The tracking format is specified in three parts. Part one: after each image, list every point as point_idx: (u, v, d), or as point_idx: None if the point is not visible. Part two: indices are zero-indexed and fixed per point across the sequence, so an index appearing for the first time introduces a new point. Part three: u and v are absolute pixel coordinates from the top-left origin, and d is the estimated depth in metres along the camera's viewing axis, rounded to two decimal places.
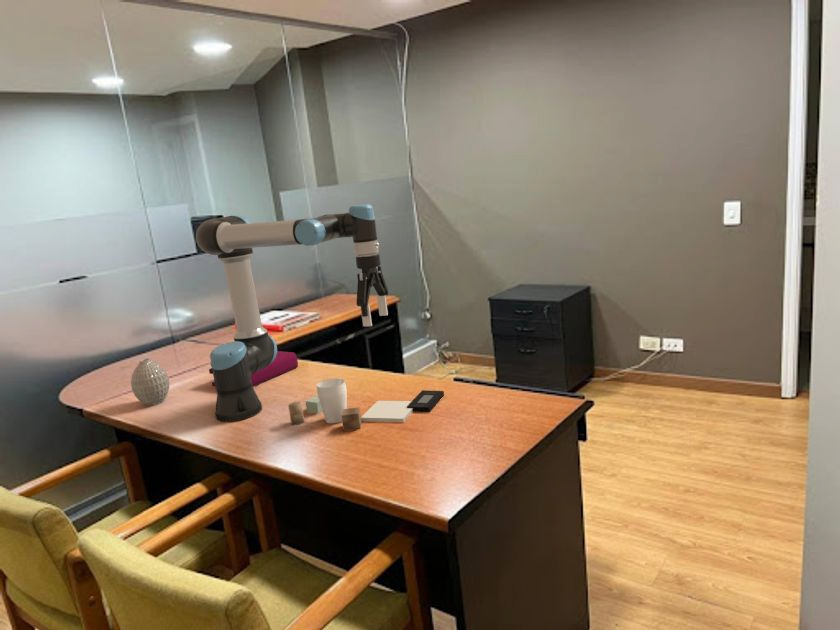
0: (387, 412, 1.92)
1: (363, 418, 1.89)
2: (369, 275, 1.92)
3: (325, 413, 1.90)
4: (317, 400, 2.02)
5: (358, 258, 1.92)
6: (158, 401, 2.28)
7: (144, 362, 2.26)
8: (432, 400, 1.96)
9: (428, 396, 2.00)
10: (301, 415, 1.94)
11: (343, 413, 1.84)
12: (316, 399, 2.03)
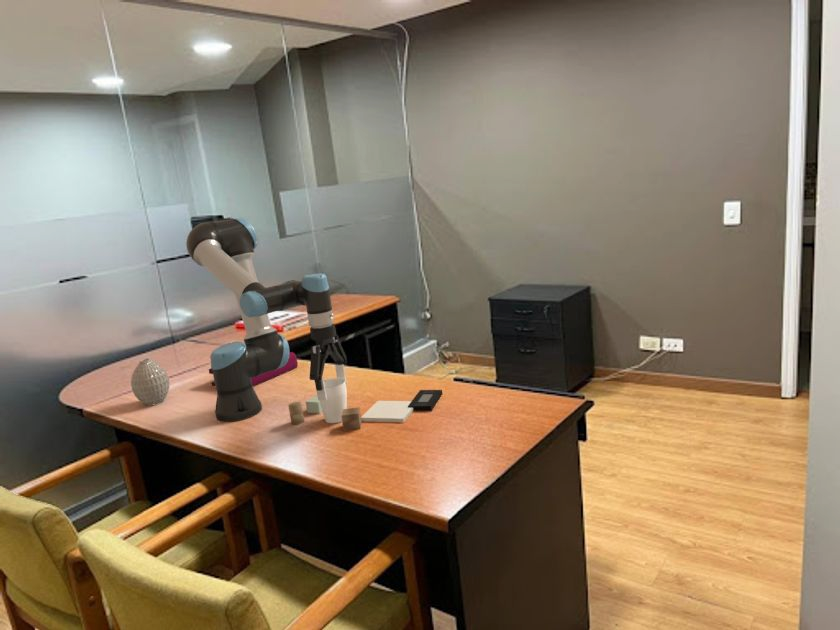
0: (387, 412, 1.92)
1: (363, 418, 1.89)
2: (324, 347, 1.85)
3: (325, 413, 1.90)
4: (318, 400, 2.02)
5: (312, 329, 1.85)
6: (158, 401, 2.28)
7: (144, 362, 2.26)
8: (433, 399, 1.97)
9: (427, 395, 2.01)
10: (301, 415, 1.94)
11: (343, 413, 1.84)
12: (316, 399, 2.03)
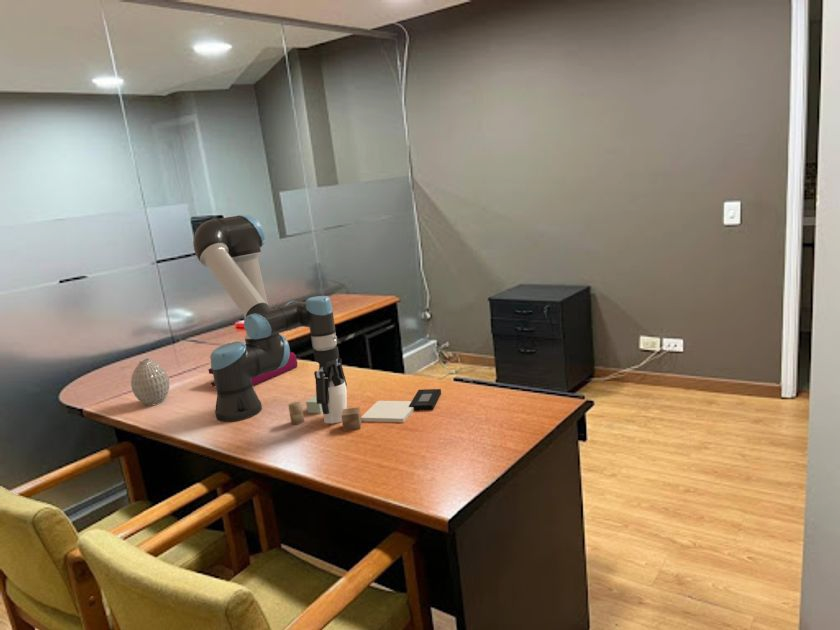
0: (387, 412, 1.92)
1: (363, 418, 1.89)
2: (327, 369, 1.87)
3: None
4: None
5: (315, 352, 1.87)
6: (158, 401, 2.28)
7: (144, 362, 2.26)
8: (433, 398, 1.97)
9: (427, 395, 2.02)
10: (301, 415, 1.94)
11: (343, 413, 1.84)
12: (316, 399, 2.03)
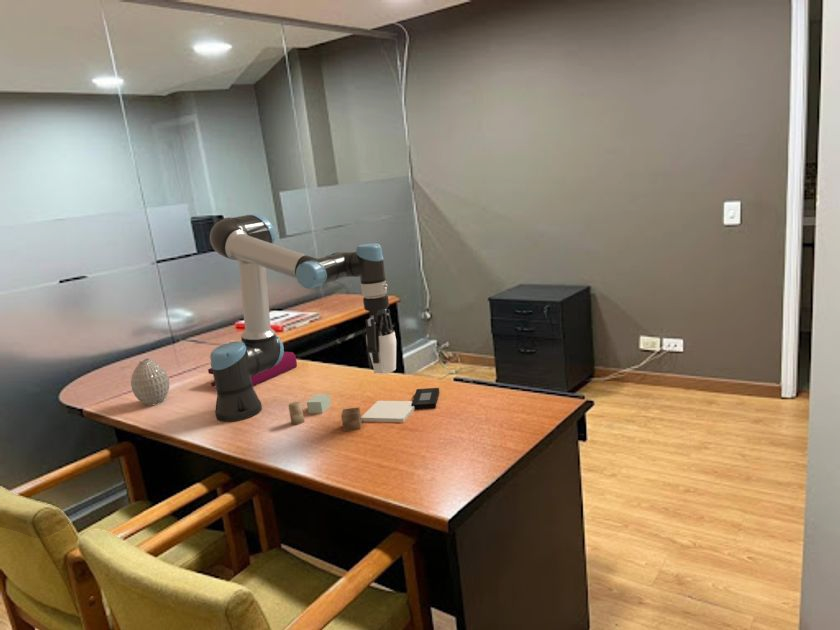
0: (387, 412, 1.92)
1: (363, 418, 1.89)
2: (377, 317, 1.84)
3: None
4: (319, 400, 2.02)
5: (366, 300, 1.84)
6: (158, 401, 2.28)
7: (144, 362, 2.26)
8: (434, 397, 1.99)
9: (426, 394, 2.03)
10: (301, 415, 1.94)
11: (343, 413, 1.84)
12: (317, 399, 2.03)
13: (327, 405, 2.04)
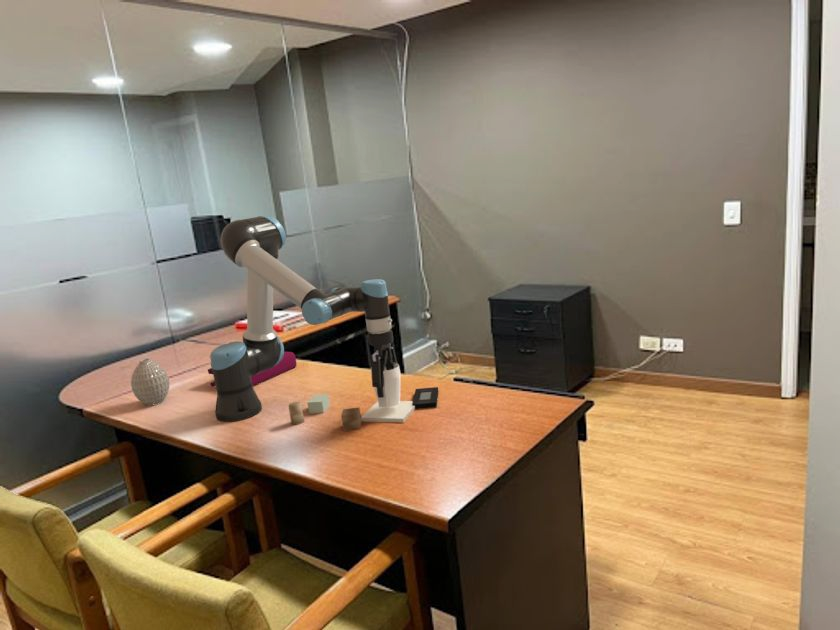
0: (387, 412, 1.92)
1: (363, 418, 1.89)
2: (382, 352, 1.86)
3: None
4: (320, 399, 2.02)
5: (370, 335, 1.86)
6: (158, 401, 2.28)
7: (144, 362, 2.26)
8: (434, 396, 1.99)
9: (426, 393, 2.03)
10: (301, 415, 1.94)
11: (343, 413, 1.84)
12: (317, 399, 2.03)
13: (327, 405, 2.05)
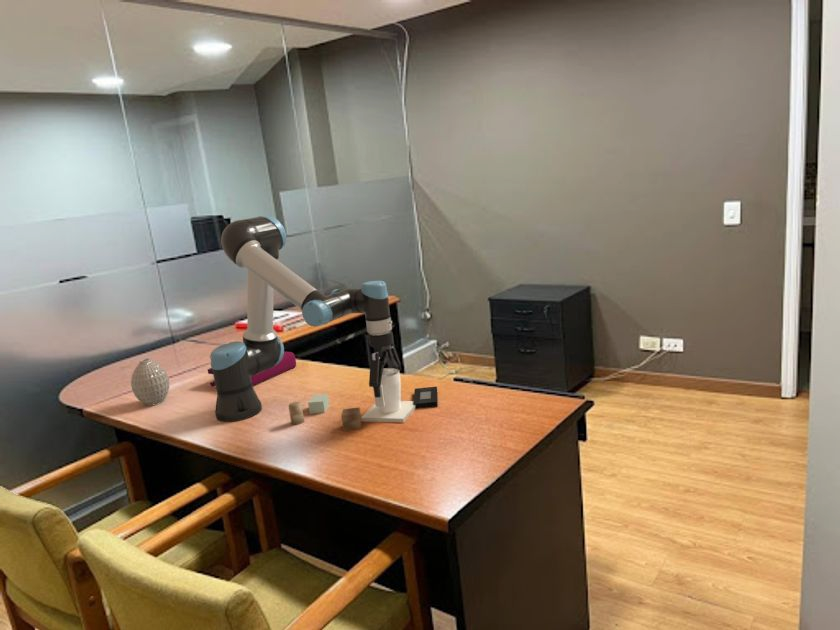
0: None
1: (363, 418, 1.89)
2: (382, 354, 1.87)
3: None
4: (320, 399, 2.02)
5: (371, 336, 1.86)
6: (158, 401, 2.28)
7: (144, 362, 2.26)
8: (434, 395, 2.00)
9: (426, 392, 2.04)
10: (301, 415, 1.94)
11: (343, 413, 1.84)
12: (317, 399, 2.03)
13: (327, 405, 2.05)
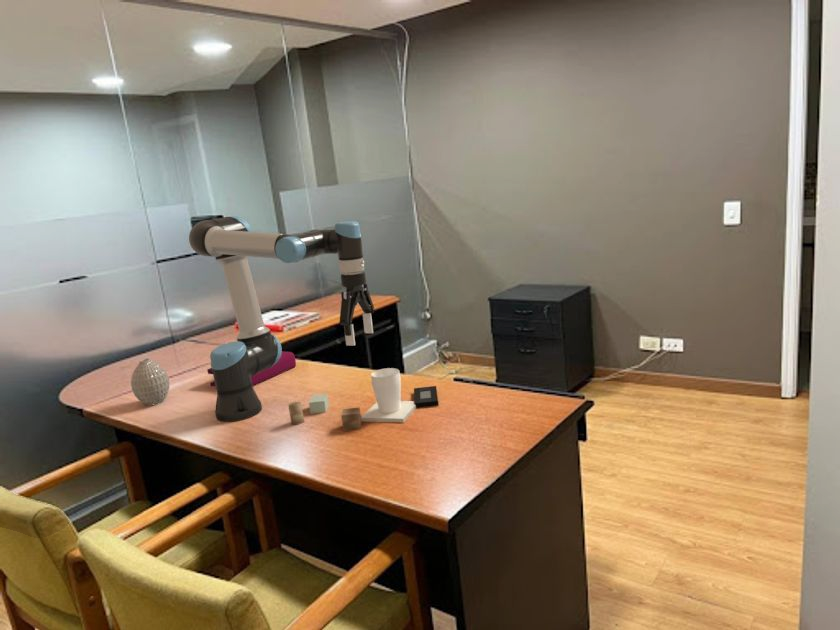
0: None
1: (363, 418, 1.89)
2: (354, 293, 1.89)
3: (380, 403, 1.90)
4: (321, 399, 2.02)
5: (343, 276, 1.88)
6: (158, 401, 2.28)
7: (144, 362, 2.26)
8: (434, 394, 2.01)
9: (425, 392, 2.04)
10: (301, 415, 1.94)
11: (343, 413, 1.84)
12: (317, 399, 2.03)
13: (327, 404, 2.05)
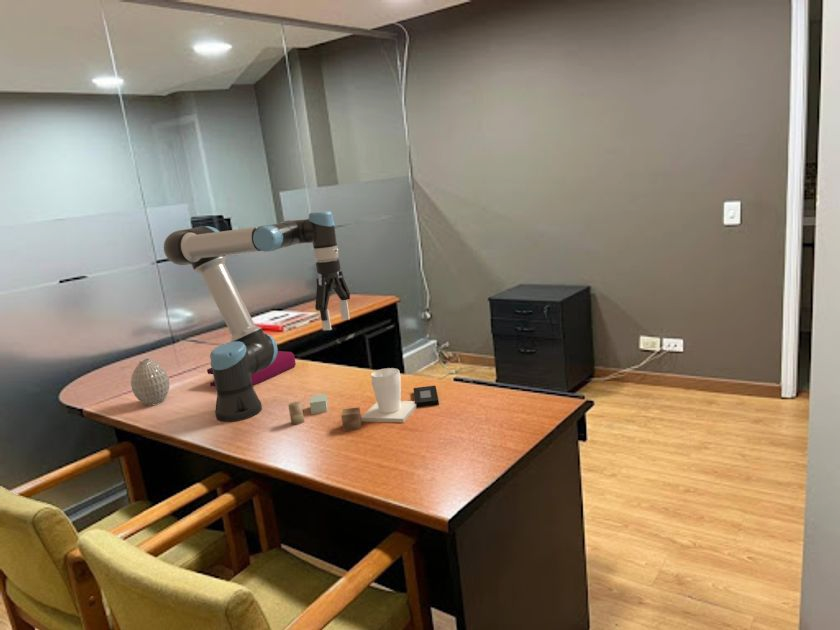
0: None
1: (363, 418, 1.89)
2: (329, 280, 1.96)
3: (380, 403, 1.90)
4: (321, 399, 2.02)
5: (318, 263, 1.96)
6: (158, 401, 2.28)
7: (144, 362, 2.26)
8: (434, 394, 2.01)
9: (425, 391, 2.05)
10: (301, 415, 1.94)
11: (343, 413, 1.84)
12: (317, 399, 2.03)
13: (327, 404, 2.05)
